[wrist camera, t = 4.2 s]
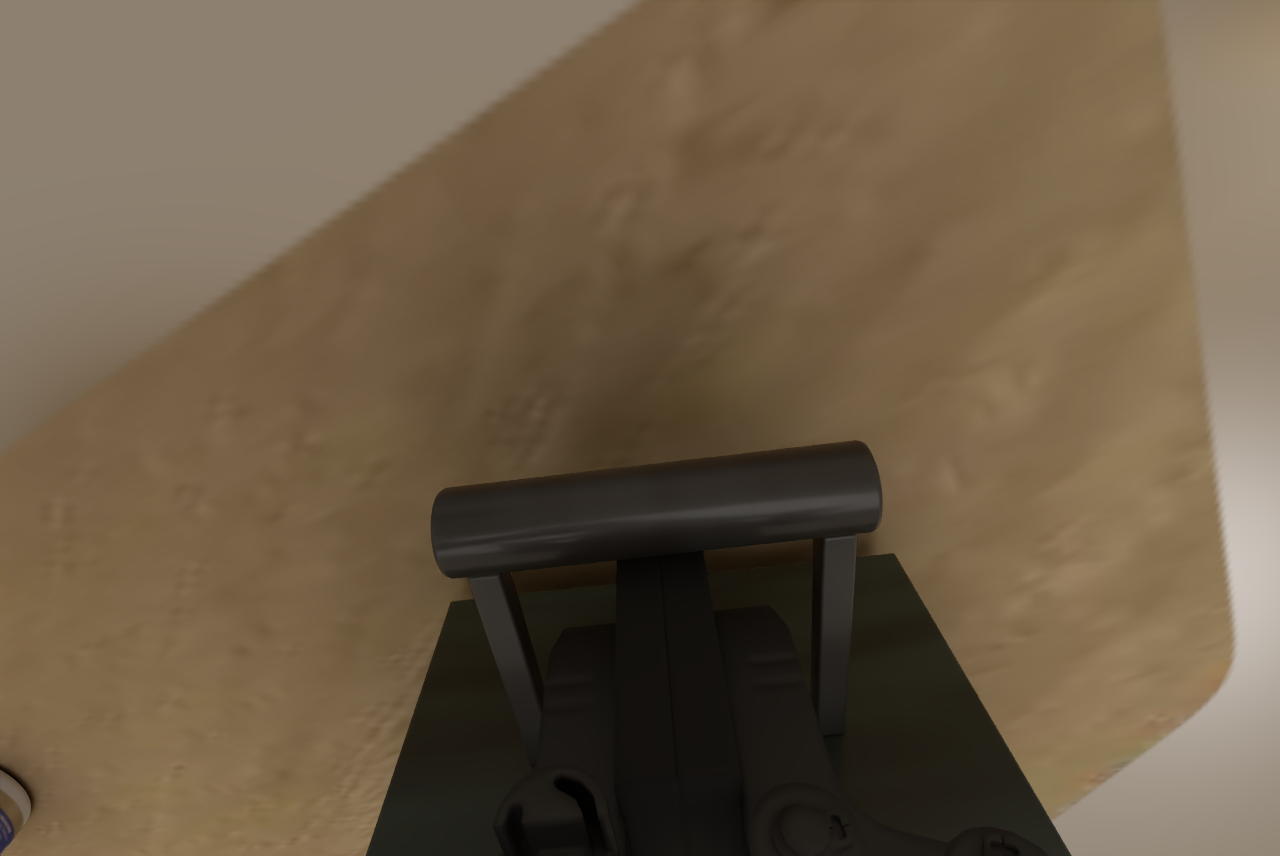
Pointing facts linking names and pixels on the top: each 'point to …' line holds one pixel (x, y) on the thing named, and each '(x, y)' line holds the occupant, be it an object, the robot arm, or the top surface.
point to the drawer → (799, 593)
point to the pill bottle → (12, 809)
